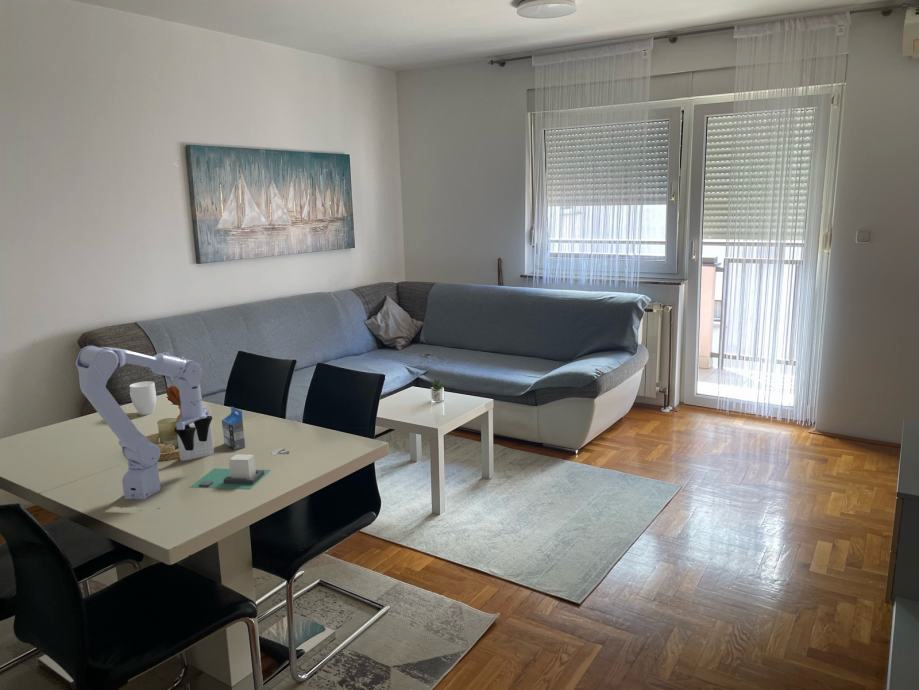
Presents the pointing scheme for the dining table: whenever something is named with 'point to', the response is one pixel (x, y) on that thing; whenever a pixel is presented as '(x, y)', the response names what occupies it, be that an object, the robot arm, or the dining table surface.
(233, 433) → the milk carton
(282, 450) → the pliers
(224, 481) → the board
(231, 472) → the plug
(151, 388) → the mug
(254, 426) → the dining table surface
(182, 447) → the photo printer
